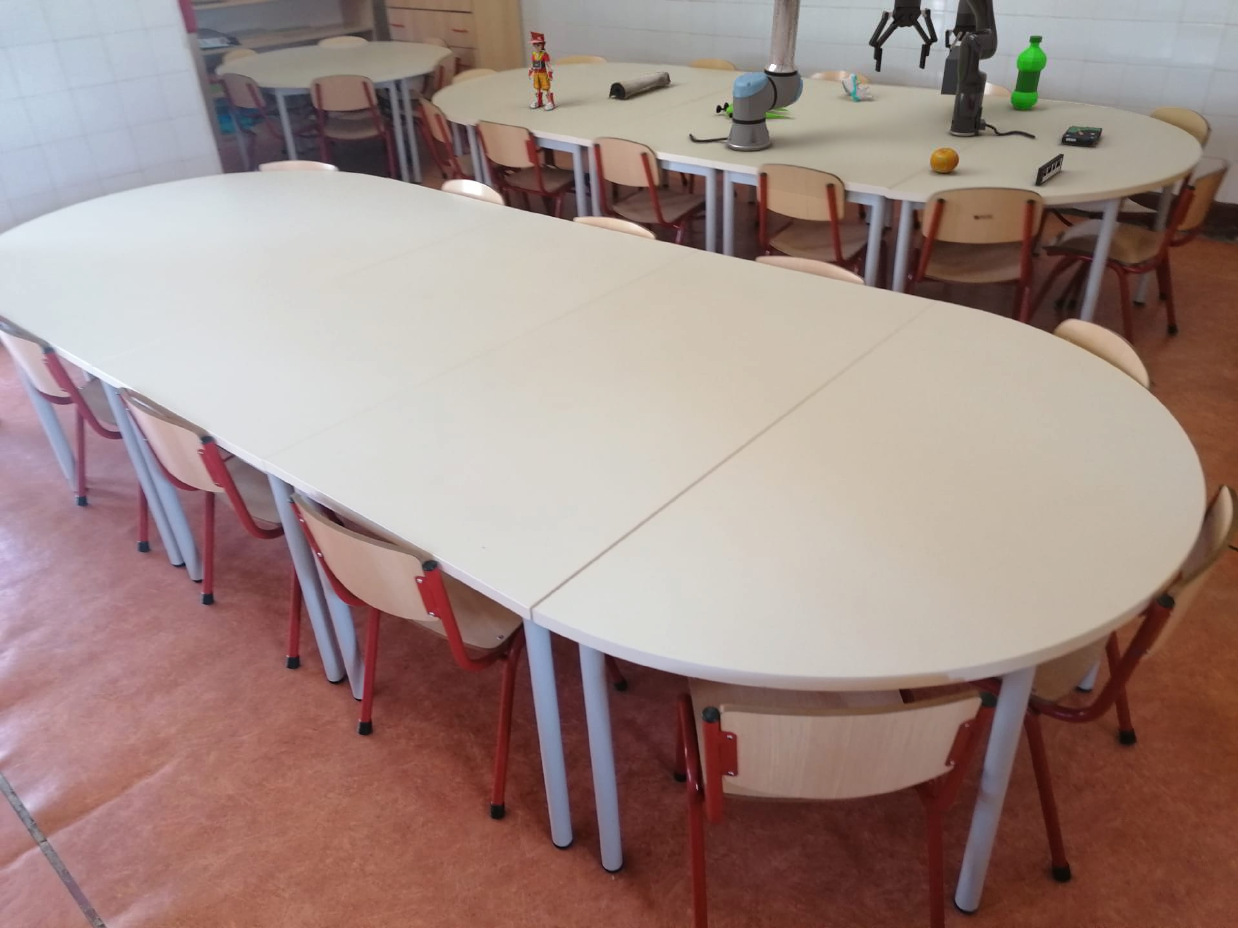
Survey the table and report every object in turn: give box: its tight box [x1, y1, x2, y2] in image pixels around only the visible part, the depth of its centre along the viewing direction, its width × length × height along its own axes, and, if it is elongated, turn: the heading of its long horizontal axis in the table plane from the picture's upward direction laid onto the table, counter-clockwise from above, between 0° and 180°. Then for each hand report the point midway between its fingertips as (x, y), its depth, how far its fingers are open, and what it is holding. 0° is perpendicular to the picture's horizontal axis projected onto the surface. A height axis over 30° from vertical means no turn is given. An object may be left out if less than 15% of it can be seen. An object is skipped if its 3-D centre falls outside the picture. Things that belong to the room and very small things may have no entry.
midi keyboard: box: [1035, 153, 1065, 186], centre depth 273 cm, size 18×1×5 cm, turn 138°
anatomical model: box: [841, 72, 874, 102], centre depth 366 cm, size 15×10×10 cm
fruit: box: [929, 147, 960, 174], centre depth 283 cm, size 8×8×8 cm
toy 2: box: [715, 101, 793, 119], centre depth 353 cm, size 28×5×30 cm
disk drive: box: [1060, 125, 1103, 147], centre depth 304 cm, size 10×3×15 cm
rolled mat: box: [608, 71, 672, 101], centre depth 395 cm, size 30×9×10 cm
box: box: [940, 45, 960, 96], centre depth 332 cm, size 25×6×12 cm, turn 156°
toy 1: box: [527, 31, 556, 111], centre depth 374 cm, size 12×9×30 cm
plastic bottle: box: [1010, 35, 1048, 111], centre depth 335 cm, size 10×10×25 cm
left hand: (899, 70), depth 273 cm, fingers open, 13 cm apart
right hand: (960, 60), depth 338 cm, fingers closed on box, 6 cm apart
